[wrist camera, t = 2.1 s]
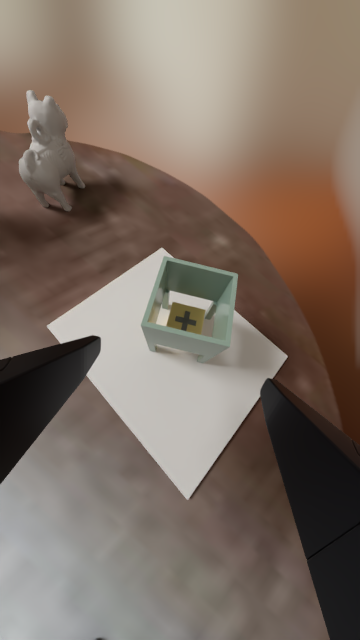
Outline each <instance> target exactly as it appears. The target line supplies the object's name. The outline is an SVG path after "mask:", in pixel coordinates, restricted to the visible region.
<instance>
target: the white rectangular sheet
mask: <svg viewBox="0 0 360 640" xmlns="http://www.w3.org/2000/svg"><path fill="white" fill-rule="evenodd" d="M164 256H167V257H171V258H173V257H172V256H171V255H170V254H169V253H168V252H166V251H165V250H164V249H163V248H161V249H159V250H158V251H156V252H155V253H153V254H152V255H150V256H149V257H147V258H146V259H144V260H143V261H142V262H140V263H139V264H137V265H136V266H134V267H133V268H131V269H130V270H128V271H127V272H125V273H124V274H122V275H121V276H119V277H118V278H117V279H115V280H114V281H112V282H111V283H109V284H108V285H106V286H105V287H103V288H102V289H100V290H99V291H97V292H96V293H94V294H93V295H92V296H90V297H89V298H87V299H86V300H84V301H83V302H81V303H80V304H78V305H77V306H75V307H74V308H72V309H71V310H69V311H68V312H67V313H65V314H64V315H62V316H61V317H59V318H58V319H56V320H55V321H53V322H52V323H50V324H49V325H47V327H48V328H49V330H50V331H51V332H52V333H53V335H54V336H55V337H56V338H57V340H58V341H59V342H60V343H65V342H69V341H73V340H76V339H80V338H84V337H88V336H91V335H95V336H99V337H100V338H101V351H100V354H99V356H98V357H97V359H96V360H95V362H94V364H93V365H92V367H91V368H90V370H89V371H88V373H87V377H88V378H89V379H90V380H91V382H92V383H93V384H94V385H95V386H96V388H97V389H98V390H99V391H100V393H101V394H102V395H103V396H104V398H105V399H106V400H107V401H108V403H109V404H110V405H111V406H112V407H113V409H114V410H115V411H116V412H117V414H118V415H119V416H120V417H121V419H122V420H123V421H124V422H125V424H126V425H127V426H128V427H129V428H130V430H131V431H132V432H133V433H134V435H135V436H136V437H137V438H138V440H139V441H140V442H141V443H142V445H143V446H144V447H145V448H146V449H147V451H148V452H149V453H150V454H151V456H152V457H153V458H154V459H155V461H156V462H157V463H158V464H159V466H160V467H161V468H162V469H163V470H164V472H165V473H166V474H167V475H168V477H169V478H170V479H171V480H172V482H173V483H174V484H175V485H176V487H177V488H178V489H179V490H180V491H181V493H182V494H183V495H184V496H185V498H186V499H187V500H188V499H189V498H190V496H191V495H192V493H193V492H194V490H195V489H196V487H197V486H198V485H199V483H200V482H201V480H202V479H203V477H204V476H205V475H206V473H207V472H208V470H209V469H210V467H211V466H212V465H213V463H214V462H215V460H216V459H217V457H218V456H219V455H220V453H221V452H222V450H223V449H224V447H225V446H226V445H227V443H228V442H229V440H230V439H231V437H232V436H233V434H234V433H235V432H236V430H237V429H238V427H239V426H240V424H241V423H242V422H243V420H244V419H245V417H246V416H247V414H248V413H249V412H250V410H251V409H252V407H253V406H254V404H255V403H256V402H257V400H258V399H259V397H260V390H261V387H262V386H263V384H264V382H265V380H266V379H267V378H271V379H273V377H274V376H275V374H276V373H277V371H278V370H279V369H280V367H281V366H282V364H283V363H284V361H285V360H286V359H287V357H288V356H287V355H286V354H285V353H284V352H282V351H281V350H280V349H279V348H278V347H277V346H275V345H274V344H273V343H272V342H271V341H270V340H268V339H267V338H266V337H265V336H264V335H263V334H261V333H260V332H259V331H258V330H257V329H256V328H255V327H253V326H252V325H251V324H250V323H249V322H248V321H246V320H245V319H244V318H243V317H242V316H241V315H239V314H238V313H237V312H236V311H235V310H234V315H233V324H232V333H231V342H230V347H229V348H228V349H226V350H224V351H223V352H221V353H219V354H218V355H216V356H214V357H213V358H211V359H209V360H208V361H206V362H204V363H199V362H197V358H198V355H199V354H195V353H191V352H187V351H182V350H178V349H174V348H170V347H166V346H162V345H158V344H157V349H156V352H153V351H150V350H149V348H148V345H147V342H146V339H145V336H144V333H143V330H142V328H141V323H142V320H143V317H144V314H145V311H146V308H147V305H148V302H149V299H150V296H151V293H152V290H153V287H154V284H155V281H156V278H157V275H158V272H159V269H160V266H161V263H162V260H163V257H164ZM173 302H176V303H180V304H184V305H188V306H192V307H196V308H200V309H204V310H205V314H206V312H207V310H208V308H209V307H210V305H211V303H212V301H211V300H207V299H203V298H198V297H194V296H190V295H186V294H182V293H178V292H174V291H170V297H169V306H168V310H167V309H163V308H162V305H161V308H160V312H159V315H158V318H157V322H156V324H158V325H162V326H166V325H167V321H168V317H169V314H170V310H171V306H172V303H173ZM214 319H215V314H214V315H213V316H212V318H211V319H210V320H208V319H205V316H204V321H203V327H202V332H201V335H204V336H208V337H212V331H213V325H214Z"/></svg>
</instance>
